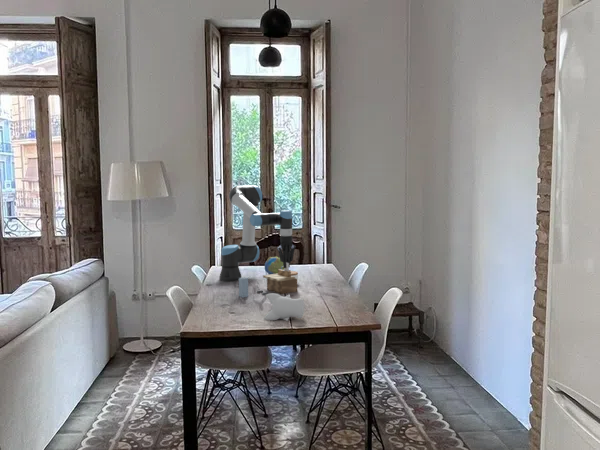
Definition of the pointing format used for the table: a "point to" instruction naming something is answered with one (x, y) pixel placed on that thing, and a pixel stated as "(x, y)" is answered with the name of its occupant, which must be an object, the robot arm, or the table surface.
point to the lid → (280, 276)
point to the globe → (273, 265)
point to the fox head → (284, 307)
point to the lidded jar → (294, 273)
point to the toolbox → (282, 286)
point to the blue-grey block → (243, 287)
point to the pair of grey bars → (263, 292)
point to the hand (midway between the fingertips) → (286, 273)
